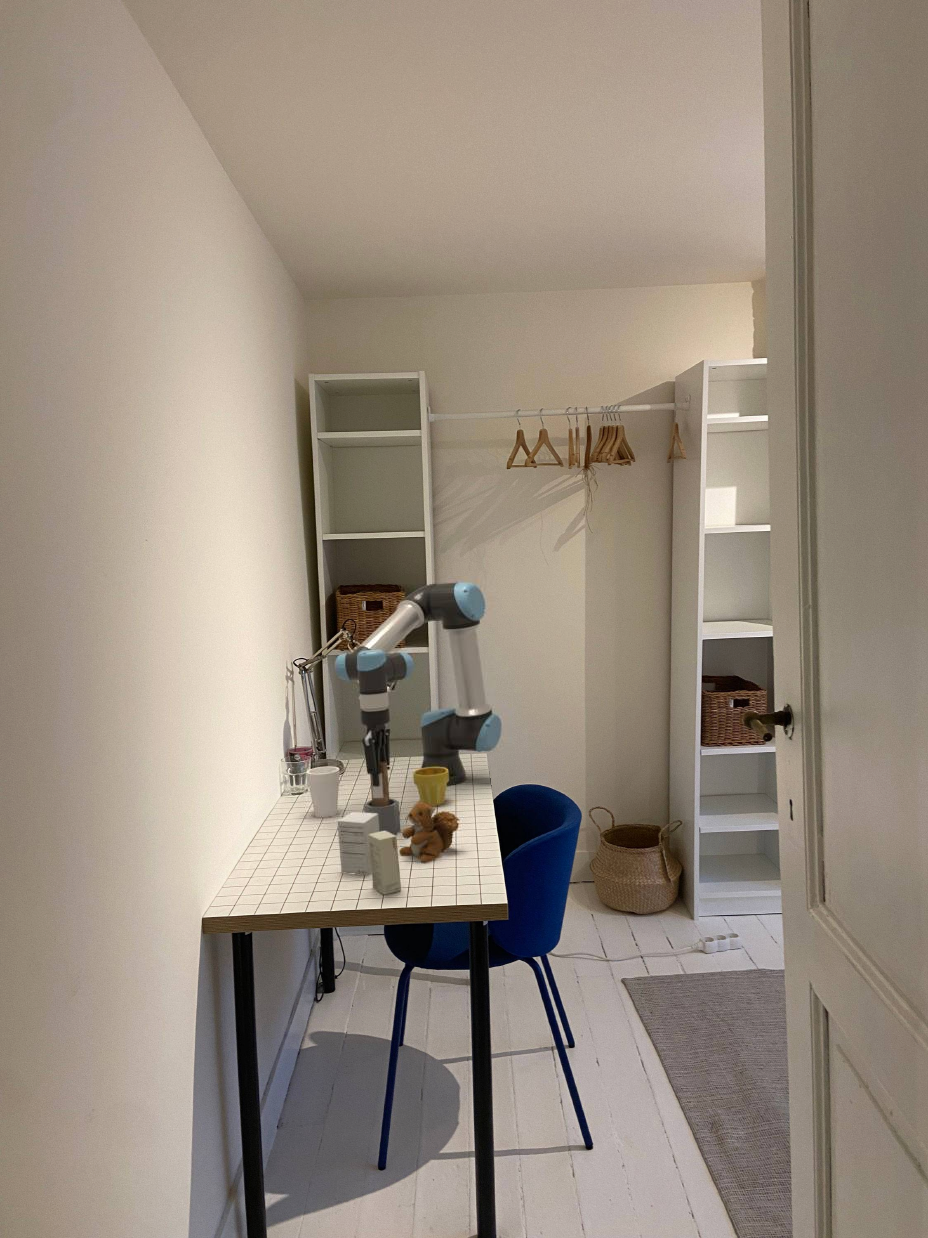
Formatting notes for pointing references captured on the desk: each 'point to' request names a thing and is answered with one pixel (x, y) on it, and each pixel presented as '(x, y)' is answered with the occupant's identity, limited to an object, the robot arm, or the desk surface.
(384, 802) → the tan wooden beam
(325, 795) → the foam cup
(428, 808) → the stuffed squirrel
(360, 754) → the desk surface
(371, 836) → the skincare box
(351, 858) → the supplement box
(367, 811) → the jar
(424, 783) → the plant pot
